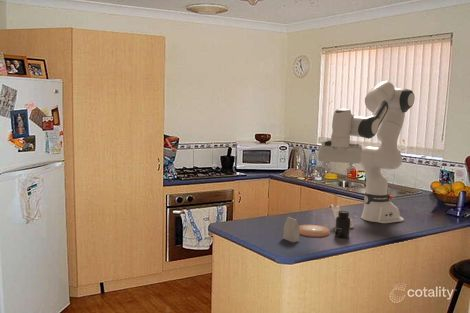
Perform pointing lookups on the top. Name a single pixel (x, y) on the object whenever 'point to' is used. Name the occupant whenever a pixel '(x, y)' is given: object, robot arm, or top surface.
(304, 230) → the peach rimmed plate
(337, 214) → the plastic part
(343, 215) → the supplement bottle
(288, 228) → the tea bag
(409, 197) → the top surface
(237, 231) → the top surface
